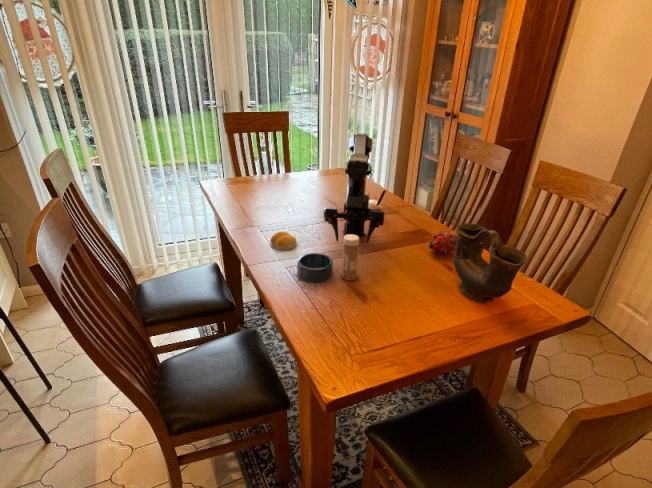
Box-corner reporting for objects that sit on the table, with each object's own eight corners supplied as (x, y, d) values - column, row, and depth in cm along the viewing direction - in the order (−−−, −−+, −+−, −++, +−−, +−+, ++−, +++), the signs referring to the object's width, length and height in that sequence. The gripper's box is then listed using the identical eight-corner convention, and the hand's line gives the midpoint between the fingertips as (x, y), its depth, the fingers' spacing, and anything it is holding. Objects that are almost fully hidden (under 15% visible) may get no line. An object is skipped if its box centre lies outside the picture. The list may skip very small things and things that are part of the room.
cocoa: (362, 211, 176) (363, 183, 169) (376, 210, 177) (378, 182, 171) (370, 220, 168) (372, 191, 162) (384, 219, 170) (387, 190, 164)
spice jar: (356, 281, 127) (359, 240, 120) (341, 280, 127) (343, 239, 120) (356, 273, 131) (359, 233, 124) (341, 273, 131) (343, 233, 124)
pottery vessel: (438, 274, 133) (448, 215, 123) (466, 269, 137) (479, 211, 127) (488, 319, 114) (506, 253, 104) (520, 311, 118) (540, 247, 107)
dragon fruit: (457, 254, 150) (429, 265, 146) (446, 234, 152) (418, 244, 148) (468, 243, 142) (439, 254, 138) (456, 222, 144) (427, 232, 140)
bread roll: (281, 252, 141) (281, 241, 139) (267, 242, 146) (266, 232, 144) (302, 246, 146) (301, 235, 143) (287, 237, 151) (287, 226, 149)
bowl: (324, 263, 136) (324, 251, 133) (337, 279, 128) (338, 266, 126) (293, 268, 132) (293, 256, 129) (304, 285, 124) (304, 271, 122)
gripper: (324, 181, 127) (320, 230, 123) (387, 185, 127) (384, 235, 123) (327, 197, 138) (322, 243, 134) (384, 201, 137) (381, 247, 134)
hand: (352, 242), depth 131 cm, fingers open, 9 cm apart
